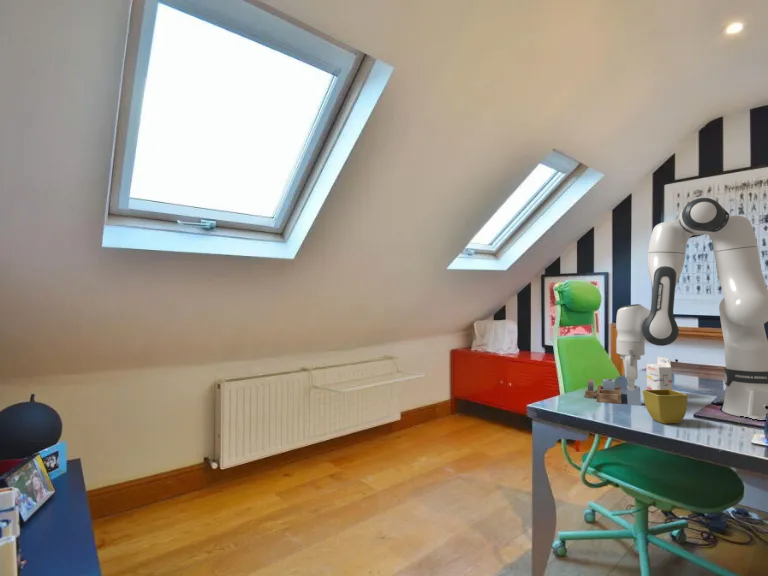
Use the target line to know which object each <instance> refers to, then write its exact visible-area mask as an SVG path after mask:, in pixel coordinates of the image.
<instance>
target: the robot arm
mask: <svg viewBox="0 0 768 576" xmlns="http://www.w3.org/2000/svg"><path fill="white" fill-rule="evenodd" d="M704 235H707V236H708V237H709V238H710V239H711V241H712V244H713V254H714V260H715V267H716V272H717V273H716V274H717V278H718V280H719V284H720V286H721V291H722V294H723V298H722V299H721V300H720V303H719V306H718V309H719V310H718V311H719V318H720V325H721V332H722V336H723V337H722V338H723V343H724V357H725V358H724V359H725V360H724V361H725V367H724V368H723V369H724V370H723V378H724V385H725V392H724V393H725V394H724V400H723V404H722V408H721V411H722V412H723V413H726V414H728V415H732V416H736V417H740V416H744V417H743V418H745V417H749V418H752V419H763V420H764V419H765V417H766V414H767V413H768V338H767V334H766V333H767V332H766V329H765V324H766V323H767V322H768V286H767V283H766V280H765V277H764V275H763V270H762V264H761V259H760V252H759V251H760V250H759V247H758V241H757V238H756V234H755V230H754V228H753V225H752V223H751V220H749V219H748V218H747V217H745V216H741V215H730V213H729V212H728V211H727V210H726V209H725V208H724V207H723V205H721V204H720V203H719V202H718V201H716V200H715V199H712V198H710V197H698V198H696V199H695V198H694V199H693V200H691V201H689V202H688V203H687V204H686V205H685V206H684V207H683V208H682V210H681V211H680V214H679V215H678V216H677V218H676V220H673V221H664V222H663V221H662V222H660V223H657V224H656V225H655V226H654V227H653V229H652V232H651V235H650V238H649V243H648V249H647V258H646V259H647V261H646V262H647V271H648V272H647V273H648V275H649V278H650V280H651V285H652V294H651V305H650V309H648V307H645V306H643V305H642V304H639V303H638V304H637V303H636V304H635V303H634V304H627V305H623V306H621V307H619V308H618V309H617V312H616V320H615V321H616V323H615V329H616V333H617V335H616V339H615V341H616V343H615V347H616V348H615V349H616V351H615V352H616V354H618V355H619V358H620V359H622V362H623V370H624V377H625V379H626V380H627V386H628V390H629V391H634V385H635V382H636V380H638V372H639V371H638V361H639V360H641V359H642V358H641V357H642V356H644V355H646V354H645V353H646V350H645V346H646V345H645V341H647V342H648V343H650V344H652V345H655V346H658V347H661V346H662V347H663V346H668V345H671V344H672V343H674V342H675V341H676V340H677V338H678V336H679V326H678V324H677V321H676V319H675V317H674V315H675V314H674V307H675V295H676V287H677V284H678V282H679V280H680V276H681V275H682V273H683V269H684V265H685V260H686V255H687V253H686V252H687V244H688V241H689V239H692V238H697V237H701V236H704ZM749 418H748V419H749ZM752 419H751V420H752Z"/></svg>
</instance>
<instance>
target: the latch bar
mask: <svg viewBox="0 0 768 576" xmlns="http://www.w3.org/2000/svg"><path fill="white" fill-rule="evenodd" d="M587 390H588V391H594V392H595V380H594V379H589V378H588V379H587Z"/></svg>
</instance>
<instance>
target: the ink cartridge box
mask: <svg viewBox="0 0 768 576" xmlns="http://www.w3.org/2000/svg"><path fill="white" fill-rule="evenodd" d="M656 360H657V363H647V364H645V369H646V371H645V373H646V390H666V389H669V390H673V377H672V376H673V375H672V373H673V372H672V366H671V365H672V363H671V360H670V358H667V357H664V356H663V357H662V356H659V355H658V356H656Z"/></svg>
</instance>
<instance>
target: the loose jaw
mask: <svg viewBox="0 0 768 576" xmlns="http://www.w3.org/2000/svg"><path fill="white" fill-rule="evenodd" d="M626 395H627V397H626V398H627V405H628V406H638V407H639V406H640V407H641V406H642V401H641V395H642V394H641V387H640V386H637V385H635V384H634V391H629V390H628V385H626Z"/></svg>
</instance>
